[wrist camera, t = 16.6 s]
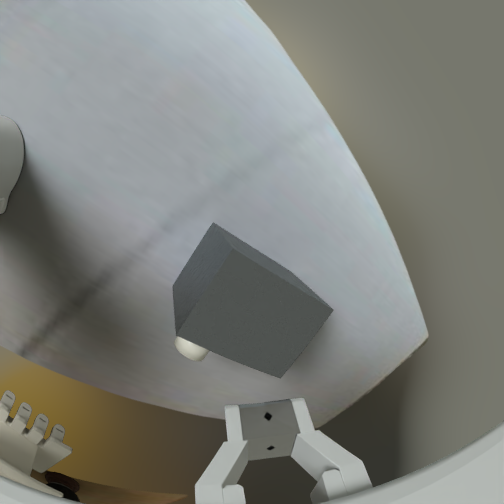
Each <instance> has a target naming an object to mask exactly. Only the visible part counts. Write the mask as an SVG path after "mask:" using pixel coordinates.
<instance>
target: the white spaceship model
mask: <svg viewBox="0 0 504 504" xmlns="http://www.w3.org/2000/svg"><path fill="white" fill-rule="evenodd" d="M14 401H15V395H14V394H13V393H12V392H11V391H8V390H7V391H5V393H4V395H3V396H2V399H1V401H0V475H1V476H4V477H6V478H9V479H11V480H13V481H16V482H18V483H21V484H23V485H26V486H28V487H31V488H34V489H37V490H40V491H43V492H46V493H49V494H52V495H55V496H58V497H63V493H62V492H60V491H57V490H55V489H53V488H51V487H49V486H47V485H45V484H43V483H41V482H39V481H38V480H36V479H34V478H32V477H30V475H31V471H32V469H34V470H36V471H38V472H40V473H43V472H44V471H46V470H47V469H49V468H50V467H52V466H53V465H55V464H56V463H58V462H59V461H61V460H62V459H64V458H65V457H67V456H68V455H69V454H71V453H72V448H71V447H69V446H67V445H65V444H64V443H62V441H63V437H64V434H65V429H64V427H63V426H61V425H59V424H56V425H55V426H54V427H53V428H52V431H51V434H50V437H49V438H48V439H47V440H45V439H43V437H44V435H45V431H46V428H47V425H48V422H49V420H48V418H47V417H46V416H45V415H44V414H39V415H38V416H37V417H36V419H35V421H34V424H33V426H32V428H31V429H30V430H29V429H27V428H26V425H27V422H28V420H29V417H30V415H31V412H32V408H31V406H30V405H29V404H27V403H25V402H24V403H22V404H21V405H20V407H19V409H18V411H17V414H16V416H15V417H14V419H13V418H11V417H10V416H8V415H9V413H10V410H11V408H12V406H13V404H14Z"/></svg>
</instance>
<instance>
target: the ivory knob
mask: <svg viewBox="0 0 504 504" xmlns="http://www.w3.org/2000/svg"><path fill="white" fill-rule="evenodd" d="M174 344H175V346H176V348H177V349H178V351H179V352H180V353H181V354H183V355H184V356H185V357H187V358H189V359H191V360H194V361H202V360H203V359H204V358H205V356H206V355H207V354H208V352H209V351H210V350H207V349H205V348H203V347H200V346H198V345H196V344H194V343H192V342H189V341H187V340H185V339H183V338H181V337H179V336H177V338H176V339H175V341H174Z"/></svg>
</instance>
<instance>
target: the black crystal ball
mask: <svg viewBox="0 0 504 504" xmlns="http://www.w3.org/2000/svg"><path fill="white" fill-rule="evenodd" d="M45 478H46V480H47V482H48V483H47V484H45V485H47V486H49V487H51V488H53V489H55V490H57V491H60V492H62V493H63V497H62V498H65V499H69V500H73V501H76V502H80V501H79V499H78V497H77V495H76V494H75V492H77V491H78V490H79V484H78V483H77V482H76V481H75V480H73V479H72V478H70V477H68V476H66V475H63V474H61V473H57V472H47V473H46V474H45Z"/></svg>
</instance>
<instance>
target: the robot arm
mask: <svg viewBox="0 0 504 504" xmlns="http://www.w3.org/2000/svg"><path fill="white" fill-rule="evenodd" d="M23 158H24V145H23V139H22V135H21V132H20V130H19V128H18V126H17V125H16V124H15V122H14V121H12V120H11V119H10V118H8V117H5V116H1V115H0V214H2V213H4V211H5V209H6V206H7V202H8V197H9V194H10V192H11V191H12V189H13V187H14V186H15V184H16V182H17V180H18V178H19V175H20V172H21V169H22V165H23ZM225 416H226V427H227V437H228V442H224V443H223V444H222V446H221V448H220V449H219V451H218V452H217V454H216V455H215V457H214V458H213V460H212V461H211V463H210V464H209V466H208V467H207V469H206V470H205V472H204V473H203V474H202V476H201V477H200V479H199V480H198V482H197V483H196V485H195V499H196V504H246V502H245V496H244V490H243V487H242V486H240V485H236V483H237V481H238V480H239V478H240V476H241V474H242V472H243V470H244V468H245V466H246V465H247V463H248V461H249V460H256V459H265V458H273V457H281V456H289V455H291V457H292V458H294V460H295V461H297V462H298V463H299V464H300V465H301V466H302V467H303V468H304V469H305V470H306V471H307V472H308V473H309V474H310V475H311V476H312V477H314V478H315V479H316V480H317V481H318V483H317V485H316V486H315V488H314V490H313V491H312V493H311V494H310V496H311V500H312V503H313V504H504V421H502V422H501V423H500V424H498V425H497V426H495V427H494V428H493V429H491V430H489V431H488V432H486V433H485V434H483V435H482V436H480V437H478V438H477V439H475V440H474V441H472V442H470V443H469V444H467V445H465V446H464V447H462V448H460V449H459V450H457V451H455V452H453V453H451V454H449V455H447V456H446V457H444V458H442V459H440V460H438V461H436V462H434V463H432V464H430V465H428V466H425V467H423V468H421V469H419V470H417V471H415V472H412V473H410V474H408V475H405V476H403V477H401V478H398V479H395V480H393V481H390V482H388V483H385V484H382V485H380V486H377V487H374V488H373V487H372V484H371V482H370V479H369V477H368V474H367V472H366V469H365V467H364V465H363V462H362V461H361V460H360V459H358V458H357V457H355V456H354V455H353V454H351V453H350V452H348V451H347V450H345V449H344V448H342V447H341V446H340V445H338V444H337V443H336V442H334V441H333V440H332V439H330V438H329V437H327V436H326V435H324V434H323V433H322V432H321V431H319V430H317V431H315V429H314V426H313V423H312V420H311V417H310V414H309V411H308V408H307V405H306V402H305V399H304V398H303V397H301V398H295V399H286V400H279V401H271V402H264V403H255V404H241V405H225ZM0 504H84V503H80V502H76V501H73V500H69V499H65V498H62V497H58V496H55V495H52V494H49V493H46V492H43V491H40V490H37V489H34V488H31V487H28V486H26V485H23V484H21V483H18V482H16V481H13V480H11V479H9V478H6V477H4V476H1V475H0Z"/></svg>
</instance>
